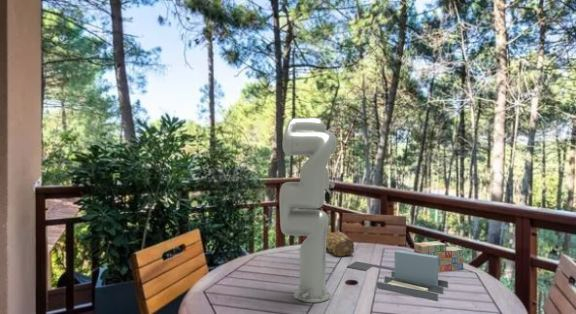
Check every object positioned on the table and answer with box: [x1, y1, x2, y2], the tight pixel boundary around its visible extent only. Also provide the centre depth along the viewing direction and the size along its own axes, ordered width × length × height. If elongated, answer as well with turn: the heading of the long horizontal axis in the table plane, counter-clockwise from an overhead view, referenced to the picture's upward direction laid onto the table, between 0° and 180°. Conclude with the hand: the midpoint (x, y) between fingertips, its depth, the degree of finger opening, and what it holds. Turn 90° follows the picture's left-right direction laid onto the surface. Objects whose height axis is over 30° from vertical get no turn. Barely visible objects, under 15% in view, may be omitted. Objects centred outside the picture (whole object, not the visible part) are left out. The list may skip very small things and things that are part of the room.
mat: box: [346, 261, 395, 272], centre depth 172 cm, size 10×22×1 cm, turn 56°
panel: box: [393, 249, 439, 286], centre depth 150 cm, size 3×16×13 cm, turn 55°
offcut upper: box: [387, 280, 429, 292], centre depth 144 cm, size 4×14×2 cm, turn 51°
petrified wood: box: [326, 231, 355, 258], centre depth 200 cm, size 19×13×10 cm
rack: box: [376, 270, 449, 302], centre depth 147 cm, size 17×22×3 cm
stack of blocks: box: [413, 240, 464, 273], centre depth 172 cm, size 21×6×12 cm, turn 106°
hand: (317, 202), depth 177 cm, fingers open, 9 cm apart
